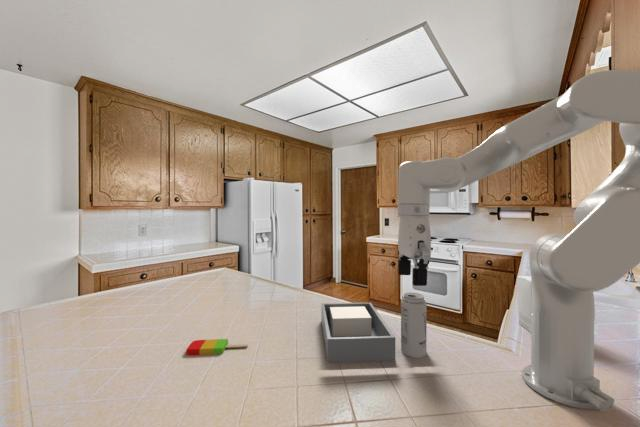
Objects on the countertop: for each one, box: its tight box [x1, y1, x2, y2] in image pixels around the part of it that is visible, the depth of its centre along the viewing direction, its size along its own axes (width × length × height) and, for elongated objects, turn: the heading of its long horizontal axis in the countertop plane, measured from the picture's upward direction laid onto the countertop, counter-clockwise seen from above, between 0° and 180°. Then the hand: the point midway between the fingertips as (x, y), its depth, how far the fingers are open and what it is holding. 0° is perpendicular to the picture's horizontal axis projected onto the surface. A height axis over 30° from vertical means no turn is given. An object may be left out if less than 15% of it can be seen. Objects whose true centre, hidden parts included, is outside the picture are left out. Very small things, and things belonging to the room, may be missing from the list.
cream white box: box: [330, 306, 371, 336], centre depth 81 cm, size 9×11×5 cm
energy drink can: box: [400, 292, 428, 359], centre depth 68 cm, size 6×6×15 cm
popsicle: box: [186, 338, 249, 356], centre depth 71 cm, size 6×15×2 cm, turn 95°
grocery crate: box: [321, 302, 396, 364], centre depth 75 cm, size 24×16×6 cm, turn 3°
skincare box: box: [516, 275, 532, 333], centre depth 82 cm, size 8×7×16 cm
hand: (411, 279), depth 68 cm, fingers open, 9 cm apart
